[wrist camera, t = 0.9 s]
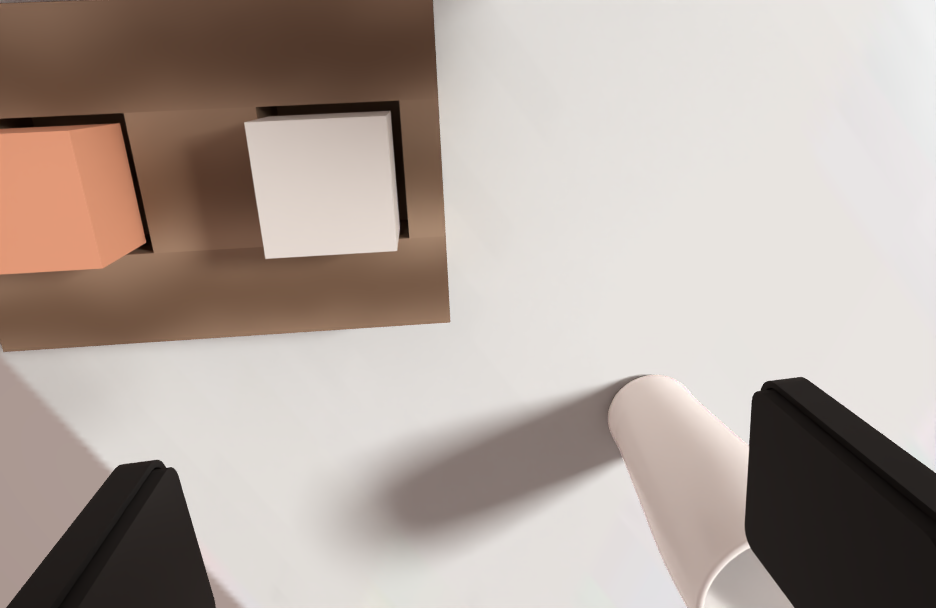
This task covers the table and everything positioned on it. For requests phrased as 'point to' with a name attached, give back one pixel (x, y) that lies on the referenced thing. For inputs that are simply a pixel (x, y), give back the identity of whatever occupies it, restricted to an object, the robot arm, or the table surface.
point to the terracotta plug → (66, 199)
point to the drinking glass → (691, 493)
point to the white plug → (325, 183)
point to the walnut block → (224, 162)
